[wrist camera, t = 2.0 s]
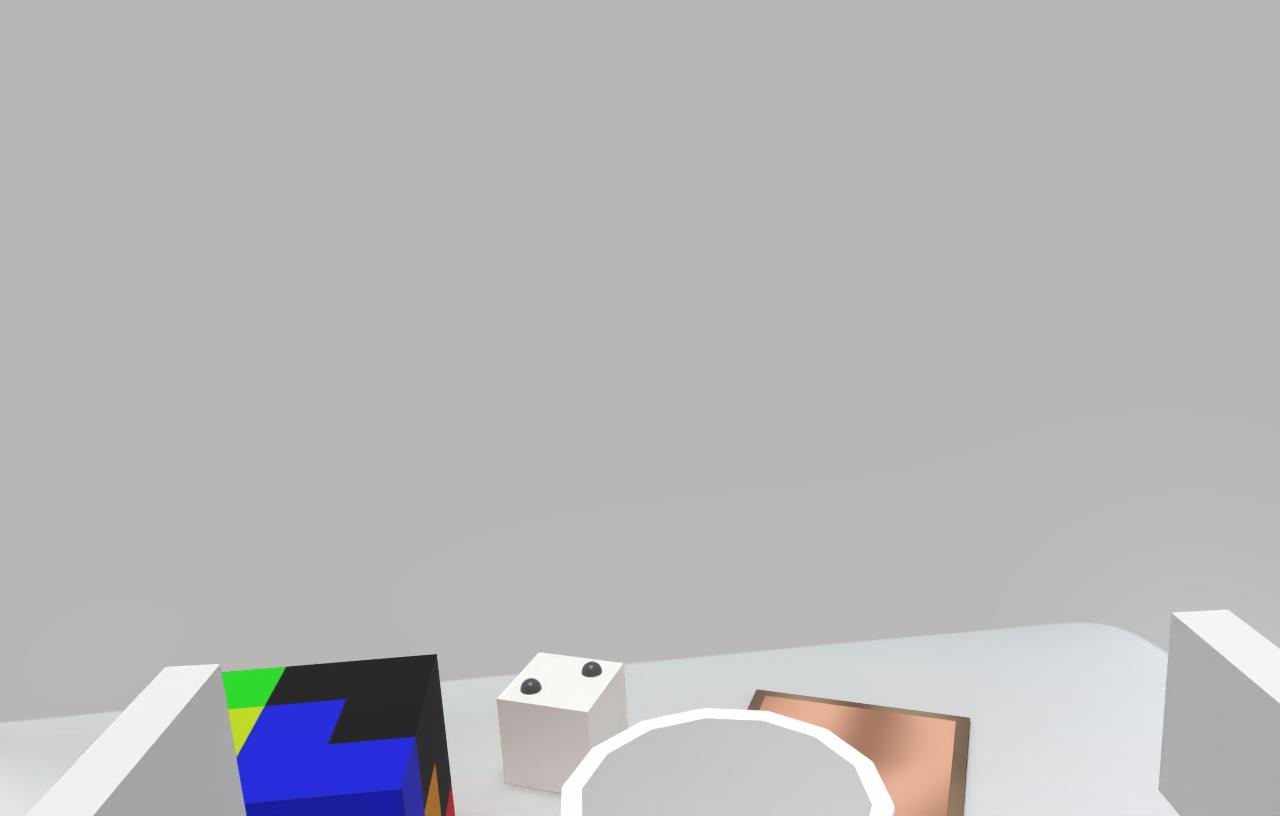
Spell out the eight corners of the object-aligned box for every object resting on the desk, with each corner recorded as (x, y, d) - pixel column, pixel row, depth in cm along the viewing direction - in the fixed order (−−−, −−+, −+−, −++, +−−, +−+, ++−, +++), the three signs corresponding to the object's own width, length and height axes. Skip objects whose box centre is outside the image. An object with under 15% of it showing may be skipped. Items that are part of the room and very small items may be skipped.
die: (505, 785, 52) (495, 689, 51) (546, 732, 56) (538, 643, 55) (594, 801, 50) (586, 702, 49) (628, 745, 55) (622, 654, 53)
